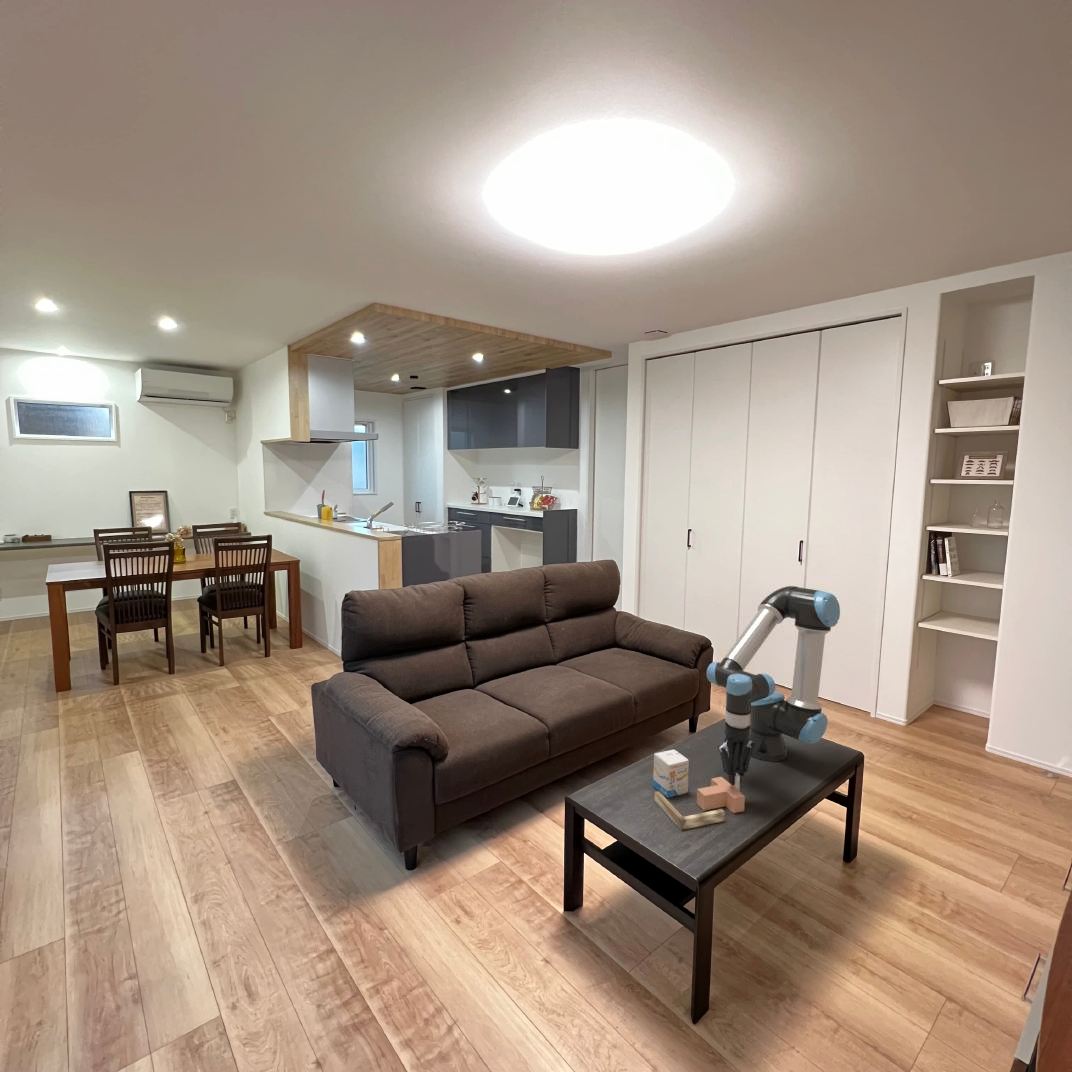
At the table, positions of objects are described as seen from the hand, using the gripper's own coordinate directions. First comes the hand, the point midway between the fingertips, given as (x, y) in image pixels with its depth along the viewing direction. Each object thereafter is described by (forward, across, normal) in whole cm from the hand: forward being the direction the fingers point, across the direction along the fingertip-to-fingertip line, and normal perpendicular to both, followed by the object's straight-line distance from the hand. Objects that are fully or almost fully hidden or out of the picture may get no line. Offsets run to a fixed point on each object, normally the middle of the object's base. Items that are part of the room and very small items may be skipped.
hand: (734, 792), depth 185 cm
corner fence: (+3, +17, 0) cm, 18 cm away
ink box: (+3, +16, -12) cm, 21 cm away
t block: (+3, +7, 0) cm, 7 cm away
